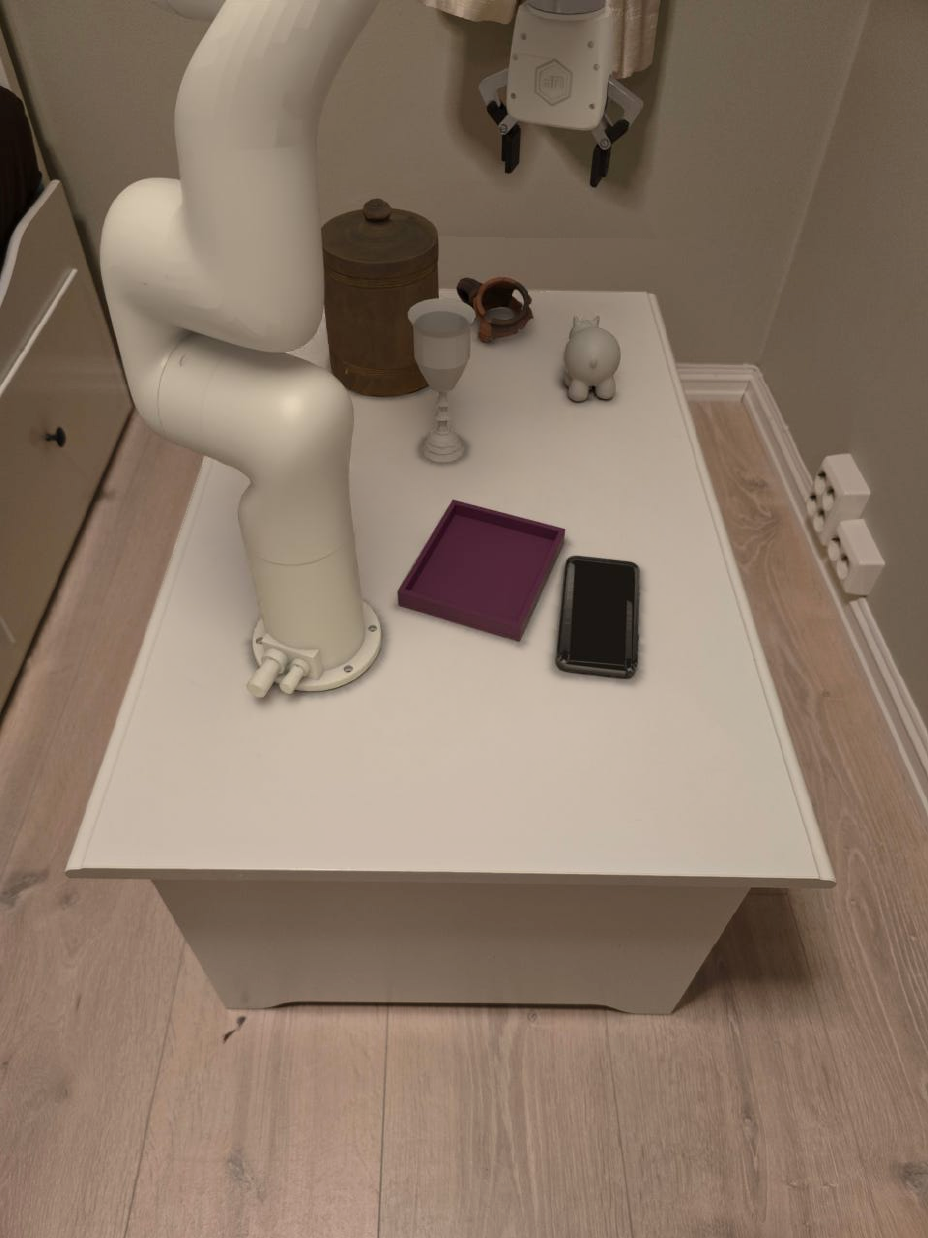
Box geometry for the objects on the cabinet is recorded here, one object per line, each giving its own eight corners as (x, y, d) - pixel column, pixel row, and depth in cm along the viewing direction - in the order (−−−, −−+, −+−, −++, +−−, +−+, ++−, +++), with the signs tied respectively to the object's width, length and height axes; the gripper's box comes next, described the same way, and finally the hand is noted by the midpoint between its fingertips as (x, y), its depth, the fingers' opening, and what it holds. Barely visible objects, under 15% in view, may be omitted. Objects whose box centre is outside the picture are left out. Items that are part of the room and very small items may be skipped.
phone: (555, 662, 86) (566, 554, 95) (554, 670, 86) (565, 561, 96) (638, 672, 85) (641, 562, 95) (636, 680, 86) (639, 569, 95)
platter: (519, 641, 89) (520, 627, 87) (398, 605, 92) (397, 591, 90) (563, 543, 98) (565, 528, 97) (452, 513, 101) (452, 498, 100)
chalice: (475, 434, 111) (478, 300, 98) (470, 469, 107) (472, 333, 93) (416, 430, 111) (412, 296, 98) (409, 464, 107) (403, 329, 93)
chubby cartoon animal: (604, 353, 123) (612, 296, 117) (619, 404, 115) (629, 346, 109) (552, 355, 123) (558, 297, 117) (564, 406, 115) (570, 347, 109)
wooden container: (438, 334, 126) (435, 173, 110) (443, 395, 116) (441, 229, 100) (333, 337, 125) (314, 175, 109) (329, 399, 116) (308, 232, 99)
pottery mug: (540, 317, 130) (547, 286, 122) (510, 370, 129) (515, 342, 121) (468, 280, 131) (470, 247, 123) (437, 332, 129) (437, 302, 121)
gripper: (468, -8, 85) (468, 177, 98) (647, 12, 81) (622, 202, 94) (494, -30, 89) (490, 150, 102) (665, -11, 85) (638, 173, 98)
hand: (553, 175), depth 98 cm, fingers open, 9 cm apart
